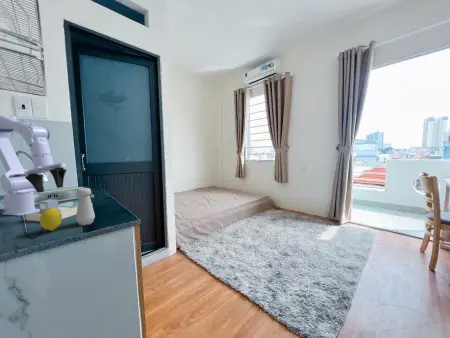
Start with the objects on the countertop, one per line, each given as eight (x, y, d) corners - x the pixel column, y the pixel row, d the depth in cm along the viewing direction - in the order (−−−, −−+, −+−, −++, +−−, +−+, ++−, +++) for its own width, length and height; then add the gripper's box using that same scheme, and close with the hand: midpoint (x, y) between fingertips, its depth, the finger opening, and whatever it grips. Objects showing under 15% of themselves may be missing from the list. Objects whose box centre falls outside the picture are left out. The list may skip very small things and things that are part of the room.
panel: (26, 220, 76) (25, 213, 76) (71, 207, 93) (70, 201, 93) (51, 222, 74) (51, 215, 73) (92, 208, 91) (92, 202, 91)
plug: (39, 219, 77) (38, 201, 76) (51, 215, 81) (49, 199, 80) (48, 220, 76) (46, 202, 75) (59, 216, 80) (57, 199, 79)
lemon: (49, 227, 69) (48, 205, 68) (66, 227, 69) (65, 205, 68) (36, 234, 63) (33, 210, 62) (54, 234, 64) (52, 209, 63)
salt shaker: (85, 226, 70) (82, 190, 68) (71, 225, 71) (69, 189, 69) (99, 221, 75) (97, 187, 74) (86, 220, 76) (84, 186, 75)
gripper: (12, 160, 73) (21, 195, 73) (51, 151, 74) (60, 186, 74) (30, 161, 80) (39, 193, 80) (66, 152, 81) (74, 184, 81)
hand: (50, 189), depth 78 cm, fingers open, 7 cm apart
